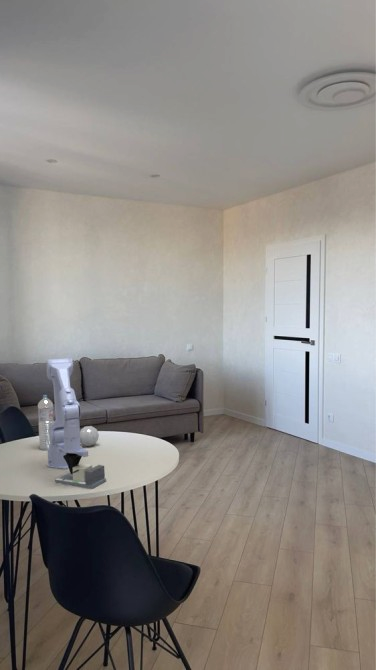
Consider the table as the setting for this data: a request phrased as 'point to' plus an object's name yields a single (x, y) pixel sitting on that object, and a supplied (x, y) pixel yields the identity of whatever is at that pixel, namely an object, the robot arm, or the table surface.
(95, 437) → the glossy grey ball
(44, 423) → the water bottle
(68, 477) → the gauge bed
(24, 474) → the table surface
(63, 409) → the robot arm
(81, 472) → the off-white block with tab
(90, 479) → the grey rectangular block
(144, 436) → the table surface
